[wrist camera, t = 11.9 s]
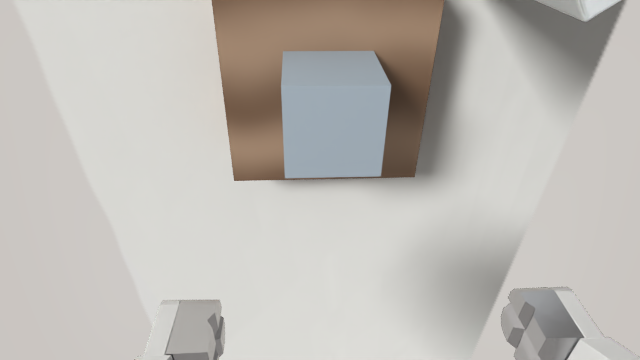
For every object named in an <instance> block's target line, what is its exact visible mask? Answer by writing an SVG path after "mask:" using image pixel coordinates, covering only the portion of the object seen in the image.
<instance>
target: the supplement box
mask: <svg viewBox="0 0 640 360" xmlns="http://www.w3.org/2000/svg"><path fill="white" fill-rule="evenodd" d="M535 1H537V2H539V3H542V4H544V5H546V6H549V7H551V8H553V9H556V10H558V11H560V12H562V13H565V14H567V15H569V16H572V17H574V18H576V19H578V20H581V21H583V22H588V21H590V20H591V19H593V18H594V17H596V16H597V15H599V14H600V13H602V12H604V11H605V10H607V9H608V8H610V7H611V6H613V5H614V4H616V3H618V2H619V1H621V0H535Z"/></svg>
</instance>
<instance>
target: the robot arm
mask: <svg viewBox="0 0 640 360" xmlns="http://www.w3.org/2000/svg"><path fill="white" fill-rule="evenodd" d="M508 298H509V300H510V302H511V303H510V304H508V305H507V306H506V307H504V308H503V311H502V314H501V326H502V330H503V333H504V335H505V338H506V340H507V341H508V342H509V343H510V344H511V345H512V346H514V347H515V348H516V350H515V353H514V357H515V359H516V360H640V357H639V356H637V355H636V354H634V353H633V352H631V351H630V350H628V349H627V348H625V347H624V346H622V345H621V344H619V343H618V342H616V341H615V340H613V339H612V338H610V337H604V336H603V334H602V333H601V331H600V330H599V328H598V327H597V325H596V324H595V323H594V321H593V320H592V318H591V317H590V315H589V314H588V313H587V311H586V310H585V308H584V307H583V305H582V304H581V302H580V301H579V299H578V298H577V297H576V295H575V294H574V292H573V291H572V290H571V289H569V288H568V287H554V288H547V287H543V288H524V289H513V290H512V291H511V292H510V294H509V297H508ZM221 309H222V307H221V302H220V300H163V301H162V303H161V304H160V306H159V308H158V311H157V314H156V317H155V321H154V324H153V327H152V330H151V333H150V336H149V340H148V343H147V346H146V349H145V352H144V355H143V356H137V358H136V359H134V360H219V357H220V356H221V355H222V354H223V351H224V344H225V323H224V318H223V317H222V316H220V315H221Z"/></svg>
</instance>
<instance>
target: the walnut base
mask: <svg viewBox="0 0 640 360" xmlns="http://www.w3.org/2000/svg"><path fill="white" fill-rule="evenodd" d="M443 5H444V0H212V7H213V15H214V23H215V31H216V39H217V47H218V55H219V63H220V71H221V79H222V87H223V95H224V103H225V111H226V119H227V127H228V135H229V143H230V151H231V159H232V167H233V175H234V181H246V180H295V179H345V178H394V177H415V171H416V165H417V159H418V153H419V147H420V141H421V135H422V129H423V123H424V118H425V112H426V106H427V100H428V94H429V88H430V82H431V76H432V70H433V64H434V59H435V53H436V47H437V41H438V35H439V29H440V23H441V17H442V11H443ZM283 51H374V52H375V54H376V56H377V58H378V60H379V62H380V64H381V66H382V68H383V70H384V72H385V74H386V76H387V78H388V80H389V82H390V84H391V92H390V101H389V110H388V118H387V127H386V136H385V144H384V153H383V162H382V170H381V176H376V177H326V178H285V169H284V145H283V121H282V97H281V79H282V60H283Z"/></svg>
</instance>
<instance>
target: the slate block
mask: <svg viewBox="0 0 640 360" xmlns="http://www.w3.org/2000/svg"><path fill="white" fill-rule="evenodd" d="M390 92H391V84H390V82H389V80H388V78H387V76H386V74H385V72H384V70H383V68H382V66H381V64H380V62H379V60H378V58H377V56H376V54H375V52H374V51H283V60H282V79H281V97H282V121H283V145H284V169H285V178H326V177H376V176H381V170H382V162H383V153H384V144H385V136H386V127H387V118H388V110H389V101H390Z"/></svg>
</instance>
